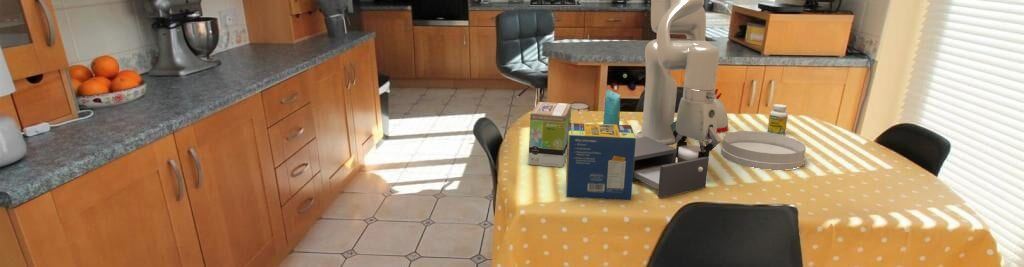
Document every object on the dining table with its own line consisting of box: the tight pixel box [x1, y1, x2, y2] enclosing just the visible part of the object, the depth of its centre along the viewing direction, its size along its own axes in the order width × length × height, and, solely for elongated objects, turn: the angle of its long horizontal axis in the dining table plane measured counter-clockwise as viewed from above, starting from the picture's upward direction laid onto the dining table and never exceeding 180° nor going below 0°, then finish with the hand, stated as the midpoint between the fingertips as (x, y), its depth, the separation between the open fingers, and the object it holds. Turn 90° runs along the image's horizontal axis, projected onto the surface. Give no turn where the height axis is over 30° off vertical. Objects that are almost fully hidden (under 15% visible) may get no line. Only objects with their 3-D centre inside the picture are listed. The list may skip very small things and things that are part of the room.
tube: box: [602, 89, 622, 125], centre depth 154 cm, size 7×5×19 cm, turn 26°
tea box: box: [527, 101, 572, 168], centre depth 155 cm, size 15×10×15 cm, turn 168°
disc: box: [678, 144, 701, 160], centre depth 143 cm, size 7×7×2 cm
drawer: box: [633, 157, 710, 199], centre depth 136 cm, size 12×15×8 cm
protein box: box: [565, 122, 637, 201], centre depth 132 cm, size 10×15×16 cm
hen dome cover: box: [714, 88, 729, 134], centre depth 187 cm, size 14×14×15 cm
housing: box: [632, 137, 677, 184], centre depth 146 cm, size 12×15×7 cm
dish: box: [720, 130, 807, 171], centre depth 158 cm, size 22×22×5 cm
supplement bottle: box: [766, 103, 789, 136], centre depth 181 cm, size 5×5×10 cm
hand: (691, 160), depth 144 cm, fingers closed on disc, 7 cm apart
